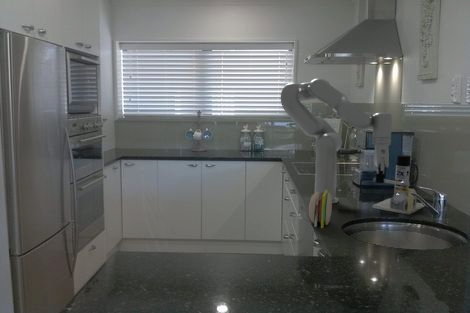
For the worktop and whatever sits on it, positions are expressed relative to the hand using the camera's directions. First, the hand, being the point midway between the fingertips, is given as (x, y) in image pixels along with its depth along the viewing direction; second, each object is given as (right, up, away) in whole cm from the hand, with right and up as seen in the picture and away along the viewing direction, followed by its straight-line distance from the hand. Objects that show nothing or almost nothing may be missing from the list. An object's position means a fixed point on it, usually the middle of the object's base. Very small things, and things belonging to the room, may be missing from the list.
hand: (379, 182), depth 190 cm
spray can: (+21, -8, +31) cm, 38 cm away
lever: (+7, -1, +4) cm, 8 cm away
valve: (+9, -11, +3) cm, 15 cm away
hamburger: (-32, -14, -26) cm, 43 cm away
